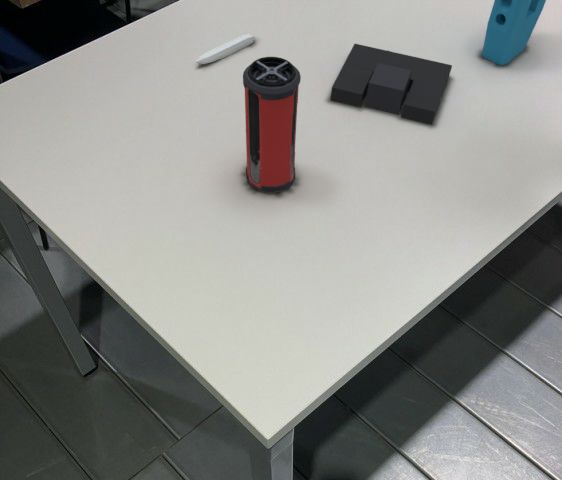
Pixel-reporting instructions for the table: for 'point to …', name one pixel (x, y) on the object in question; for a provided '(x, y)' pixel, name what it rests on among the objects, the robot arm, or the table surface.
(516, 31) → the block
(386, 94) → the plug pad
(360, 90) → the base pad
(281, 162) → the speaker
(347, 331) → the table surface
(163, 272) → the table surface
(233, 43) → the pen
